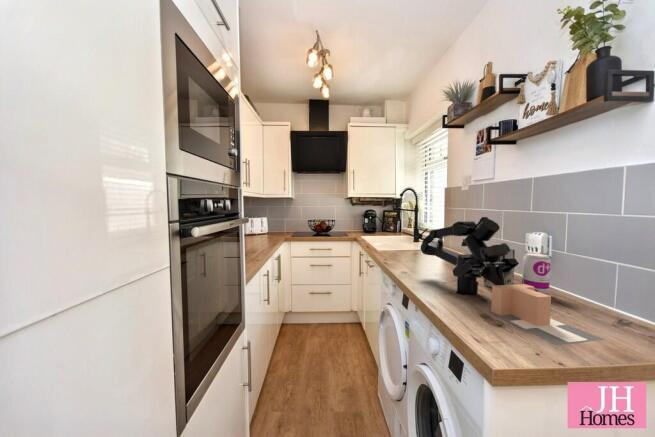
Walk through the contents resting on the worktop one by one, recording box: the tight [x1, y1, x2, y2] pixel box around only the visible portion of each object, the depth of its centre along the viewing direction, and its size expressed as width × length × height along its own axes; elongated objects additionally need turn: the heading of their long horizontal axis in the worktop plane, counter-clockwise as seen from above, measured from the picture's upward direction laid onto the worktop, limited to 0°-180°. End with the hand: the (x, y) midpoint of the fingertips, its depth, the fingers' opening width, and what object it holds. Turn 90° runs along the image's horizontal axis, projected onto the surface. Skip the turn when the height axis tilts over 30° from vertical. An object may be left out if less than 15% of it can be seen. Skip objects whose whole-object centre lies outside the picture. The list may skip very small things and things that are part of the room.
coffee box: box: [483, 248, 516, 288], centre depth 111 cm, size 9×6×16 cm
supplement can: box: [521, 252, 552, 296], centre depth 103 cm, size 8×8×15 cm
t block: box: [490, 283, 552, 326], centre depth 80 cm, size 12×12×8 cm
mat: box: [485, 309, 605, 346], centre depth 76 cm, size 22×15×1 cm
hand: (503, 288), depth 87 cm, fingers closed
